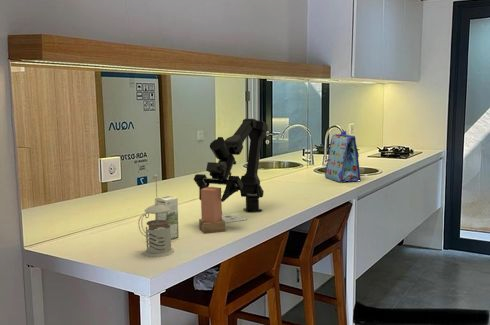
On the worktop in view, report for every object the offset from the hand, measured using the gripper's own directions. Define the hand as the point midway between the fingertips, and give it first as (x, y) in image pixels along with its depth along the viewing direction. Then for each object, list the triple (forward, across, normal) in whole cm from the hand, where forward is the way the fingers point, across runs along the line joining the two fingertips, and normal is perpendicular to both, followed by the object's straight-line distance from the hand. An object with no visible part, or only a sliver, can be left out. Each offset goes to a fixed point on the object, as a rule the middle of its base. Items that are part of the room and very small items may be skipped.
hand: (211, 200), depth 185 cm
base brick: (+8, 0, +8) cm, 11 cm away
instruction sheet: (-6, -2, +21) cm, 22 cm away
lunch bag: (-83, +14, +100) cm, 131 cm away
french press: (+30, -3, -14) cm, 33 cm away
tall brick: (+5, 0, +6) cm, 8 cm away
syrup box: (+19, -9, -3) cm, 21 cm away
